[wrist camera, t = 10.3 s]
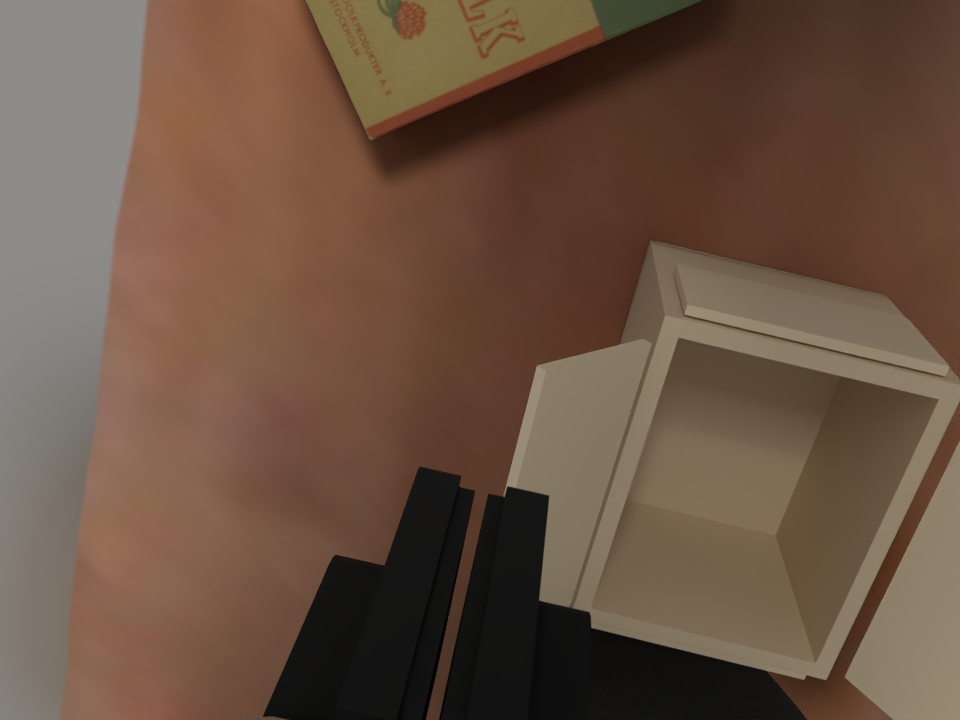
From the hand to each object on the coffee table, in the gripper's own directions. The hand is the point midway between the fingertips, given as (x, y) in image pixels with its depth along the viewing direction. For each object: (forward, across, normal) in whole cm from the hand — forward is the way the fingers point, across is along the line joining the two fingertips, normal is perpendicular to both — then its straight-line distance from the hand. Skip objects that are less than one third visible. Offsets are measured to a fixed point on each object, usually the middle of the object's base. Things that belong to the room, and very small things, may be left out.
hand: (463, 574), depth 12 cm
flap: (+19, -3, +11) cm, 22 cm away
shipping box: (+32, -10, +12) cm, 35 cm away
